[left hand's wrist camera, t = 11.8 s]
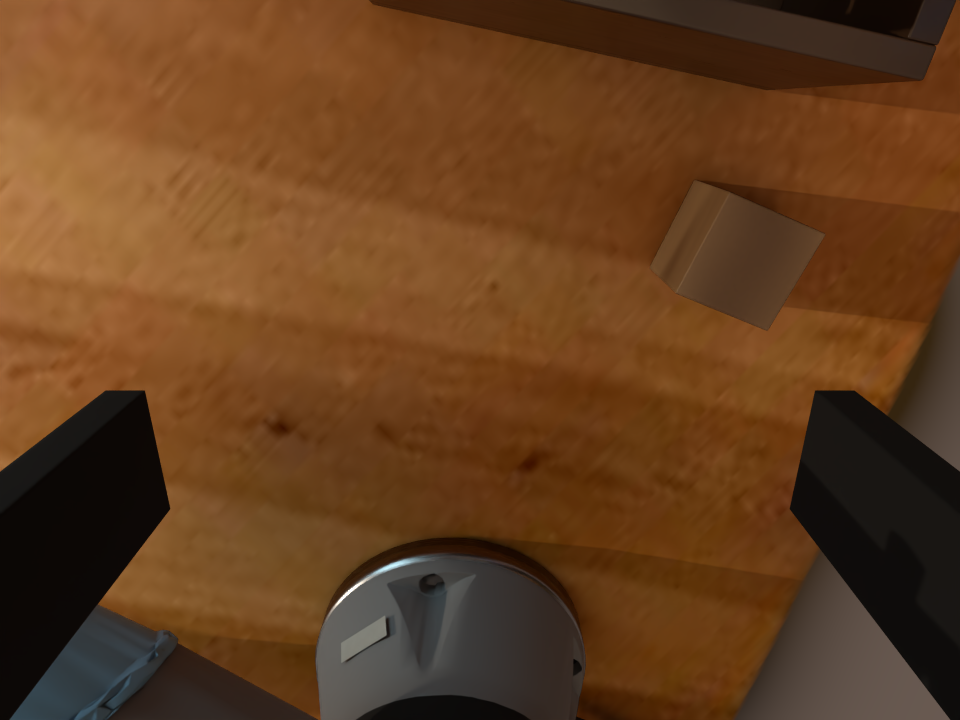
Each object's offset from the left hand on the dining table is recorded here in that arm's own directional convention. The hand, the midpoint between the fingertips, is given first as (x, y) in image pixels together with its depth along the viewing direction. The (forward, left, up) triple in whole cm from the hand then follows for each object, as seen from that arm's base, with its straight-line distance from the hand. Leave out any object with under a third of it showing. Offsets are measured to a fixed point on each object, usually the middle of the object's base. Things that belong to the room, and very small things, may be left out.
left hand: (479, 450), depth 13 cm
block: (-8, -7, -18) cm, 21 cm away
